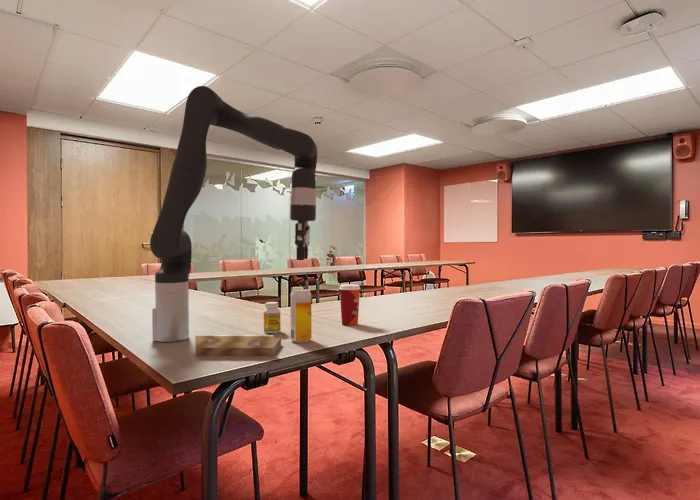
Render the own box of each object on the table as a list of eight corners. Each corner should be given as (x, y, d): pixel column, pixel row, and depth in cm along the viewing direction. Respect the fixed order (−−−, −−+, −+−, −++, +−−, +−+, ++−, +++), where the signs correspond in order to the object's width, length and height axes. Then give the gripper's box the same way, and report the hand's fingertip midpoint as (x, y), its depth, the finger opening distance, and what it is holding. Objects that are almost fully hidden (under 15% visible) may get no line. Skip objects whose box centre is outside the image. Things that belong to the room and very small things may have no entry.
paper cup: (360, 326, 142) (360, 286, 142) (338, 326, 142) (338, 286, 142) (360, 322, 150) (360, 283, 149) (339, 322, 150) (339, 283, 150)
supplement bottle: (276, 329, 137) (276, 301, 137) (283, 332, 132) (283, 302, 132) (261, 331, 134) (261, 302, 134) (267, 334, 129) (267, 304, 129)
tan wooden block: (195, 355, 105) (195, 336, 105) (210, 344, 116) (210, 327, 116) (273, 355, 105) (272, 336, 105) (281, 345, 116) (280, 327, 116)
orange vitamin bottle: (315, 340, 121) (315, 290, 121) (299, 344, 117) (299, 291, 117) (302, 337, 125) (302, 288, 125) (286, 341, 121) (286, 290, 121)
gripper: (293, 206, 128) (293, 258, 128) (286, 201, 114) (285, 260, 114) (318, 206, 128) (317, 258, 128) (313, 202, 114) (312, 260, 114)
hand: (302, 259), depth 121 cm, fingers open, 8 cm apart
